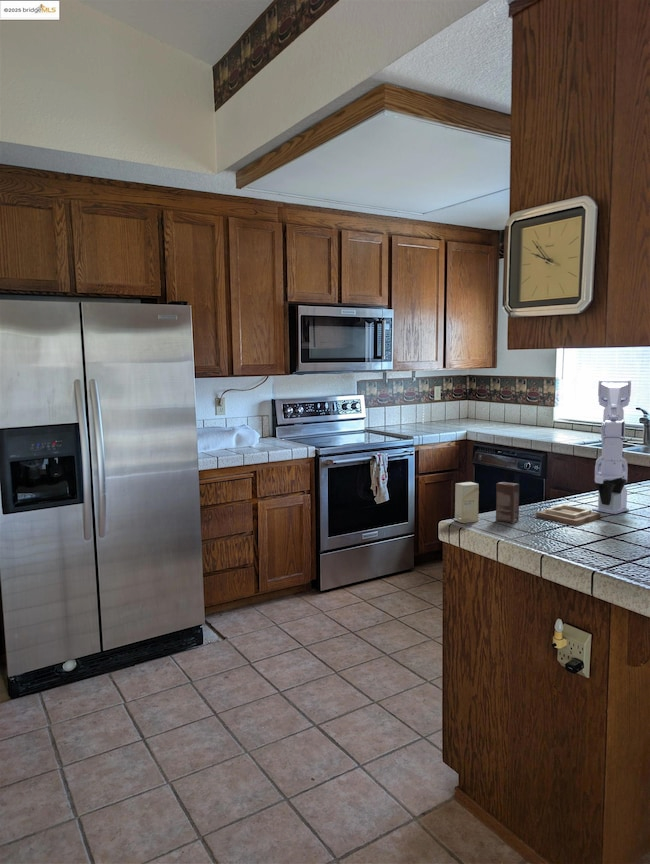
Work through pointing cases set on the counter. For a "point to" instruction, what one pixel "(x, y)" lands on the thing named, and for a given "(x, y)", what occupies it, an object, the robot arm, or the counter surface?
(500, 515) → the box
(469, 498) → the skincare box
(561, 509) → the base board
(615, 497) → the block
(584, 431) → the counter surface
